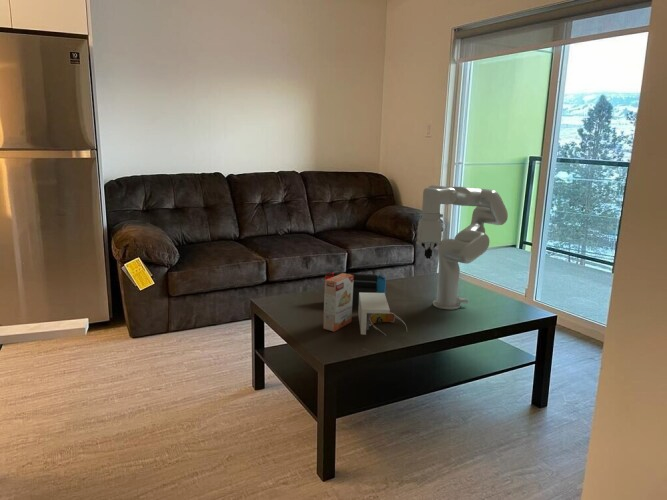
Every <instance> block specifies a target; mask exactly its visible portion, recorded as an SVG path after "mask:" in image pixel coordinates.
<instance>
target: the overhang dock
mask: <svg viewBox="0 0 667 500" xmlns="http://www.w3.org/2000/svg"><path fill="white" fill-rule="evenodd" d="M390 311H391V309H390V306H389V303H388V299H387V297H386V292H385V293H359V307H358V314H357V315H358V316H357V317H358V321H359V322H358V323H359V330H360V335H363V336H364V335H367V331H370V326H369V316H368V315H369V314H373V313H388V314H390Z"/></svg>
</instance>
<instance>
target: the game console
mask: <svg viewBox="0 0 667 500" xmlns="http://www.w3.org/2000/svg"><path fill="white" fill-rule="evenodd" d="M342 273H343V272H333V271H329V272H327V273H326V274H325V276H324V281H325V280H327V279H329V278H332V277H334V276H337V275H339V274H342ZM344 273H345V274H350V275H354V280H353V301H352V307H357V308H359V293H385V294H386V287H387V286H386V283H387V282H386V281H387V278H386V276H384V275H383V274H373V273H371V274H370V273H351V272H350V273H349V272H344Z"/></svg>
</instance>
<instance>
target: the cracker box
mask: <svg viewBox="0 0 667 500" xmlns="http://www.w3.org/2000/svg"><path fill="white" fill-rule="evenodd" d="M341 273H342V274H339V275H337V276H334V277H332V278H329V279H327V280H325V279H324V292H323V293H324V297H323V300H324V301H323V325H322V326H323V328H322V329H323V330H326V331H331V332H336V331H338V330H340V329H342V328H344V327H345V326H347V325H350V324H351V323H352V320H353V319H352V317H353V306H352V301H353V280H354V275H350V274H345V273H346V272H341Z"/></svg>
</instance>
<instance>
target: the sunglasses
mask: <svg viewBox="0 0 667 500" xmlns="http://www.w3.org/2000/svg"><path fill="white" fill-rule="evenodd" d="M370 314H371V315H370V316H368V320H369V327H371V326H372V327H373V328H374V329H375V330H377V332H380V334H382V335H383V336H386V334H385V332H383V331H382V330H380V329H379V328H378V327H376V326H375V325H374V324H376V323H378V322H379V319H380V322H382V323H383V322H385V323H386V322H387V323H395V320H396V319H397V320H399V321H401V323H402V324H403V325H404V326H405V330H406V331H405V332H406V333H408V328H407V324H406V323H405V321H403V319H402V318H401V317H400V316H397V315H396V313H394V312H390V314H388V313H370Z"/></svg>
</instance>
